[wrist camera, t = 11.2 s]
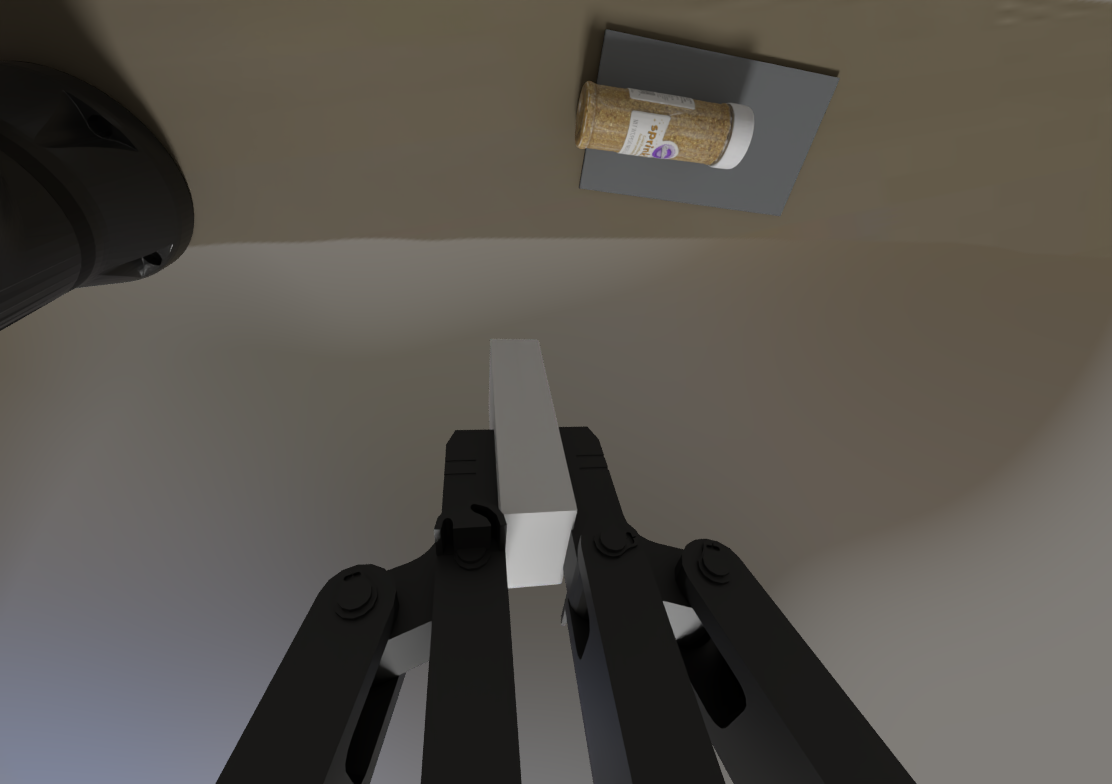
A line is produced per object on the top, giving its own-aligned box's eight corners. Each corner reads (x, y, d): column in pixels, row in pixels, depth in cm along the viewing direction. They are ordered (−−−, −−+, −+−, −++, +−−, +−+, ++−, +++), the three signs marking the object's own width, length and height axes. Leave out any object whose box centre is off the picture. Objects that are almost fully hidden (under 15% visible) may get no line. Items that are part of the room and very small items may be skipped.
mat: (579, 187, 39) (579, 188, 39) (605, 29, 33) (606, 29, 32) (778, 214, 43) (780, 216, 42) (836, 77, 36) (839, 78, 36)
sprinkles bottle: (582, 136, 32) (751, 160, 34) (588, 66, 31) (761, 95, 33) (571, 156, 36) (721, 176, 39) (576, 95, 36) (729, 119, 38)
